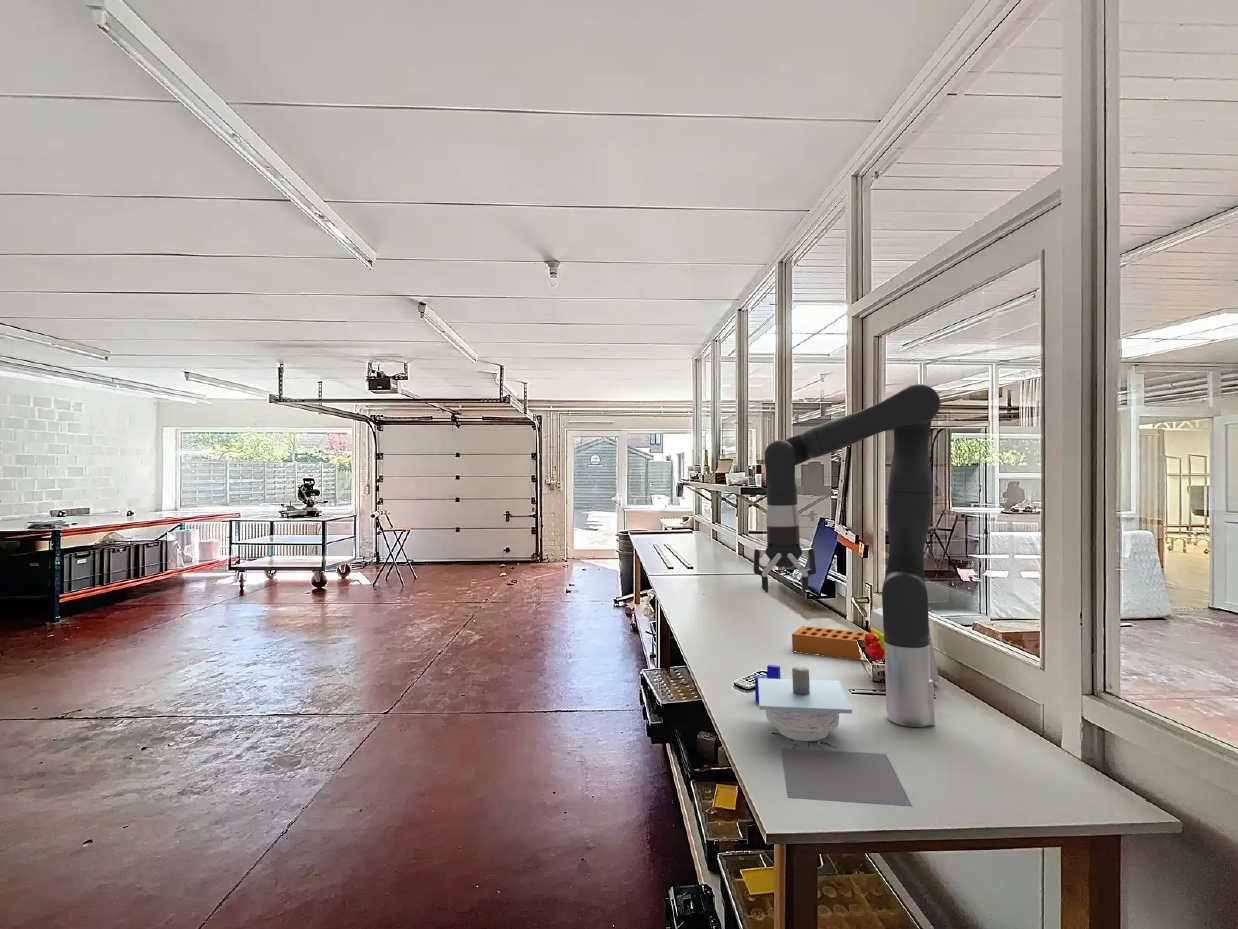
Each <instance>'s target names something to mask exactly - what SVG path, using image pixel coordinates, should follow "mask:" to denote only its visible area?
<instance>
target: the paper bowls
mask: <svg viewBox="0 0 1238 929" xmlns="http://www.w3.org/2000/svg"><path fill="white" fill-rule="evenodd" d="M765 715H766V719H767V721H768V722H769V723H770V724H771V725H774V726H775V727H776V729H777V731H778V733H779V734H780V735H782V736H784V737H785V738H788V739H791V740H795V741H803V742H813V741H814V742H815V741H820V740H823V739H825V738H826V737H827V736H829V733H830V732H831V731H834V730H835V729H836V728H838V727H839V725H840V713H825V712H801V711H778V710H765Z"/></svg>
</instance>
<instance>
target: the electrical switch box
mask: <svg viewBox="0 0 1238 929" xmlns="http://www.w3.org/2000/svg"><path fill="white" fill-rule="evenodd" d="M869 626H870V627H869V628H870V629H869V630H870V633H871V634H866V635H865V638H864V643H865V652H866V653H867V654H868V655H869V656H871V657H872V658H875V659H876V660H880V659H882V658H885V647H884V630H883V608H882V607H878V608H875V609H871V611H870V619H869ZM929 639H930V642H931V643H930V644H929V657H930V679H931V680H932V681H933V683H939V682H940V676H939V671H938V665H937V662H936V661H937V660H936V656H935V650H934V645H933V640H932V635H931V629H930V628H929ZM870 644H872V646H869V645H870Z"/></svg>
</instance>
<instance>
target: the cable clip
mask: <svg viewBox="0 0 1238 929" xmlns="http://www.w3.org/2000/svg"><path fill="white" fill-rule="evenodd" d="M766 669H767V670H766V671H767V672H766V675H765V674H764V675H763V674H762V676H761V675H756V676H755V677H754V694H755V695H754V696H755V702H757V701H759V689H758V678H766V679H782V678H781V666H780V665H776V664H768V665H767V666H766Z"/></svg>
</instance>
